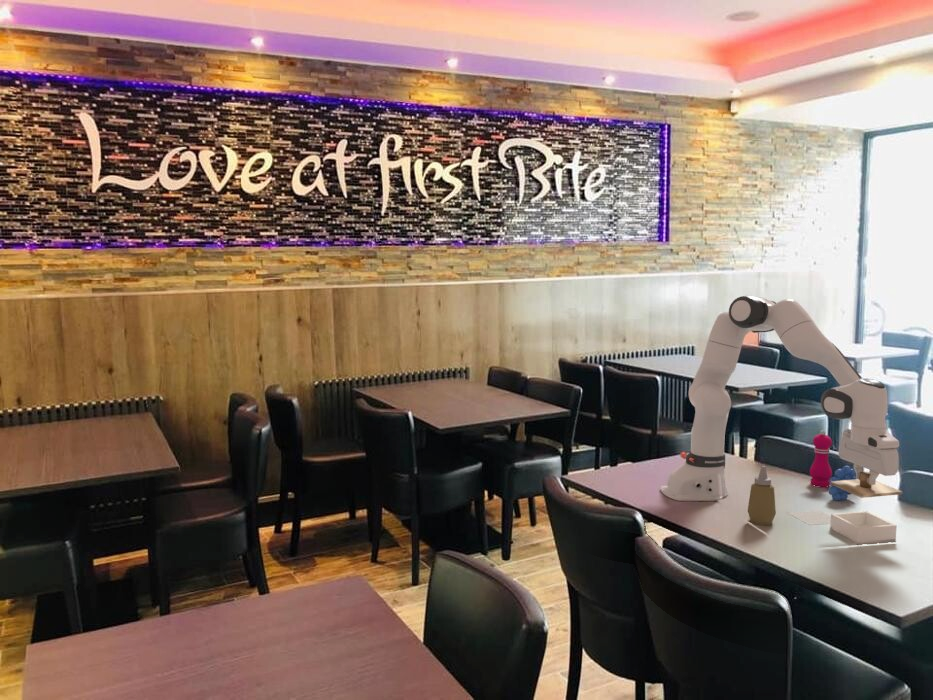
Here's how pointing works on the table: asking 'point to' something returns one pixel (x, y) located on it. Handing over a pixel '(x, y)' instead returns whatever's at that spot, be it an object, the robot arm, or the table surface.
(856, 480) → the lid
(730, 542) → the table surface
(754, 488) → the squeeze bottle
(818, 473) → the pepper mill
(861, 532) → the white open box
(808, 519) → the mat
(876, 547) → the table surface
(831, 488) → the grapes
